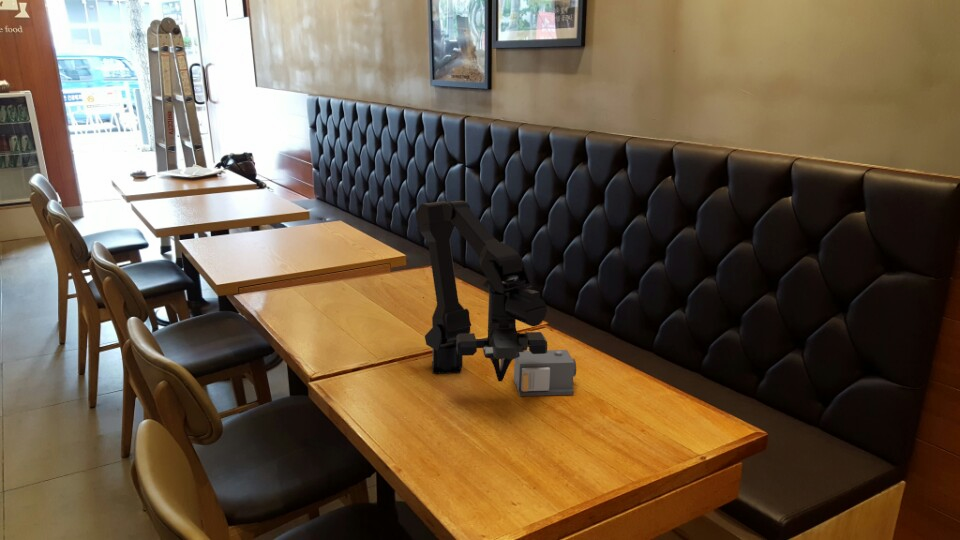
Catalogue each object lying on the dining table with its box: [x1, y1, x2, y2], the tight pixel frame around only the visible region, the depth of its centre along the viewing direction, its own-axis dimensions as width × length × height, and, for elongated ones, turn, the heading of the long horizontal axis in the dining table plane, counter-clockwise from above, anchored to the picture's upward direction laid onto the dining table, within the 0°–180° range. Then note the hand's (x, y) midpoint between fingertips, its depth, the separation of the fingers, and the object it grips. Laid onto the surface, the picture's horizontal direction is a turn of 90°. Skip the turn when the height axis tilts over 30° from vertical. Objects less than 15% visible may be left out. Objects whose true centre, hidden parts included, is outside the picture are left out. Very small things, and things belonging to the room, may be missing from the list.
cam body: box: [513, 349, 577, 397], centre depth 150 cm, size 13×8×8 cm, turn 96°
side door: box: [521, 367, 550, 391], centre depth 145 cm, size 6×2×5 cm, turn 96°
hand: (499, 380), depth 144 cm, fingers closed
